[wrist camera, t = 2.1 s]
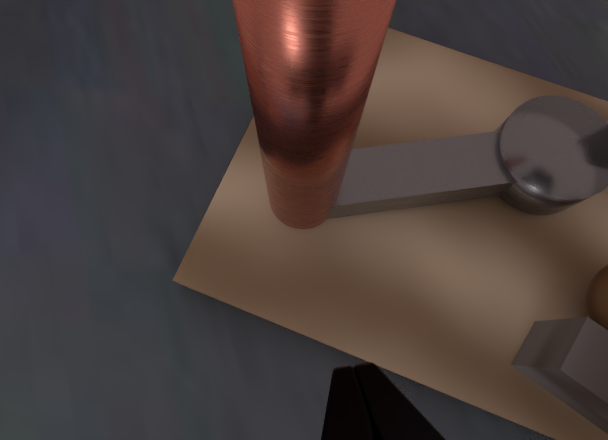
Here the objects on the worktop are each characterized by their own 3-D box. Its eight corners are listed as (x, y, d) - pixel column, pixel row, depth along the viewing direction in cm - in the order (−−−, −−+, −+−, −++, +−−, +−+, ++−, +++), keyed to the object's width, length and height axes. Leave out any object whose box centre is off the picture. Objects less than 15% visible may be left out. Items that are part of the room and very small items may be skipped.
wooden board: (652, 479, 16) (777, 527, 11) (180, 284, 17) (145, 266, 13) (693, 150, 20) (795, 101, 16) (309, 20, 21) (312, -55, 17)
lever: (658, 104, 18) (1181, -239, 8) (698, 194, 17) (1394, -61, 6) (263, 153, 17) (209, -167, 6) (275, 252, 16) (235, 64, 5)
